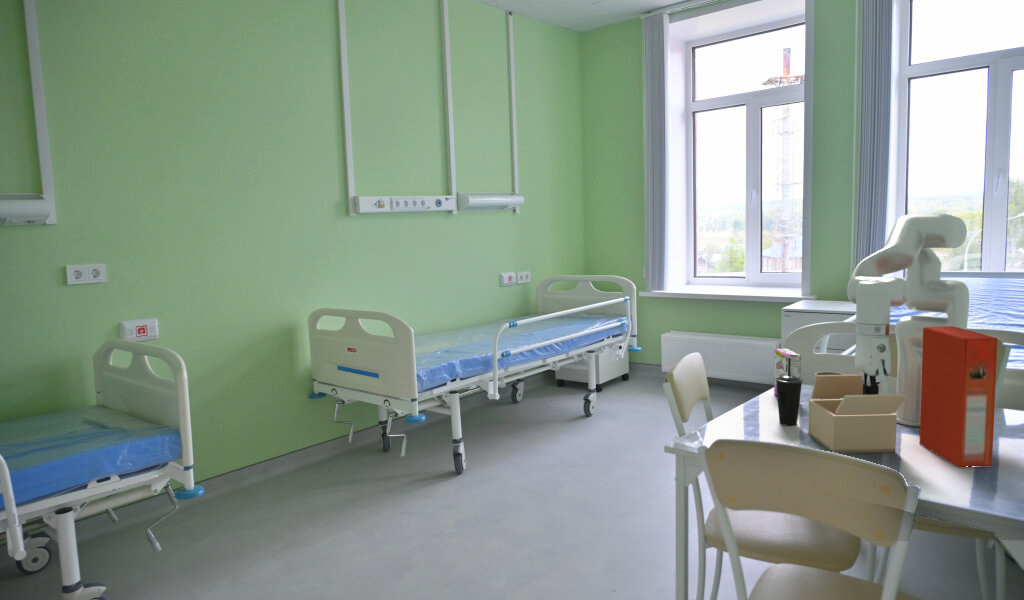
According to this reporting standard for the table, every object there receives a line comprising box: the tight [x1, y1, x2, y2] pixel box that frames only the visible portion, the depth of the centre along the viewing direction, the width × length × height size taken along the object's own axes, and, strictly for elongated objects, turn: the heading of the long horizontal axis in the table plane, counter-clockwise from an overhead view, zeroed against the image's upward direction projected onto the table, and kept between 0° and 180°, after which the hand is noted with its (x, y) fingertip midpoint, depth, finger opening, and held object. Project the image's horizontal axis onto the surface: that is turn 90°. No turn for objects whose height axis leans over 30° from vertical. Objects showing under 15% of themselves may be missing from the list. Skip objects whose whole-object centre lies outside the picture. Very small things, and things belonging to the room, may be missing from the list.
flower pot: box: [814, 371, 845, 400], centre depth 225 cm, size 9×9×9 cm
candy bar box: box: [773, 348, 802, 404], centre depth 227 cm, size 11×5×16 cm, turn 179°
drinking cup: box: [775, 358, 804, 427], centre depth 200 cm, size 8×8×20 cm
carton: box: [808, 398, 898, 454], centre depth 183 cm, size 16×16×10 cm
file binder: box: [919, 326, 998, 468], centre depth 170 cm, size 8×17×32 cm, turn 177°
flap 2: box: [835, 393, 906, 414], centre depth 171 cm, size 15×8×1 cm
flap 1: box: [811, 373, 863, 400], centre depth 187 cm, size 15×8×1 cm
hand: (870, 400), depth 171 cm, fingers closed
